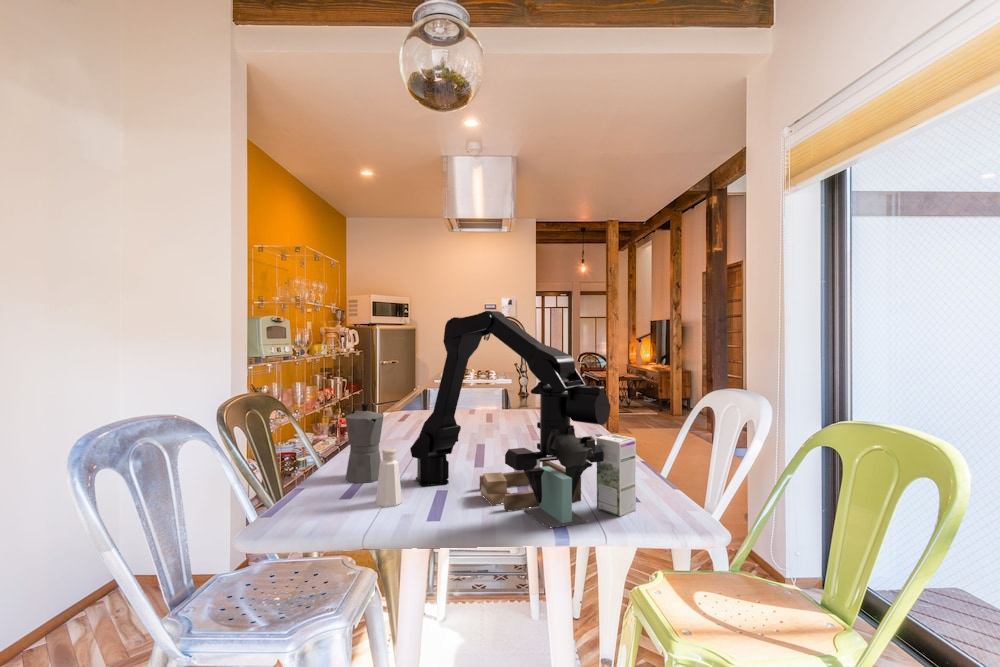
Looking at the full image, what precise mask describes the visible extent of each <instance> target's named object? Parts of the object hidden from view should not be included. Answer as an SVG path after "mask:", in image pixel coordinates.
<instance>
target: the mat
mask: <svg viewBox="0 0 1000 667" xmlns="http://www.w3.org/2000/svg"><path fill="white" fill-rule="evenodd" d="M526 511H527V512H528V513H527V512H526ZM524 512H526V513H527V514H529V515H530V516H531V515H532V517H533V519H535V518H536V520H537V521H538V522H539V521H540V522H539V523H541V524H542V523H543V524H544V525H543V524H542V525H543V526H545V525H546V526H547V527H548V528H547V527H546V526H545V527H546V528H547V529H549V528H550V527H556V528H558V527H557V526H562V527H564V526H563V525H568V526H573V525H572V524H574V525H579V524H585V522H586V523H588V520H587V519H586V518H584V517H582V516H581V515H579V514H578V513H576V512H575V511H574V510H572V522H567V523H561V522H560V521H558V520H557V519H555V518H554V517H553V516H551V515H550V514H548V513H547V512H545V511H544V510H543V509H541V508H540V506H538V507H531V508H525V509H524ZM550 529H551V528H550Z"/></svg>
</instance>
